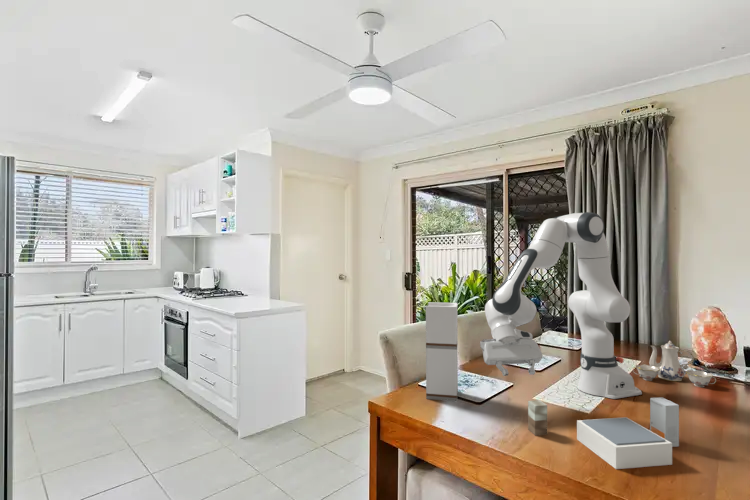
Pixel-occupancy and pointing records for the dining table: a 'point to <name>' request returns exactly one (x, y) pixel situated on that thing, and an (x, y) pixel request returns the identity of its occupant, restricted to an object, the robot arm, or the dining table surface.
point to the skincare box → (665, 419)
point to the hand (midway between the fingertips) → (519, 374)
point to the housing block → (537, 417)
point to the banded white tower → (441, 351)
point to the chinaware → (672, 367)
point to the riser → (624, 443)
